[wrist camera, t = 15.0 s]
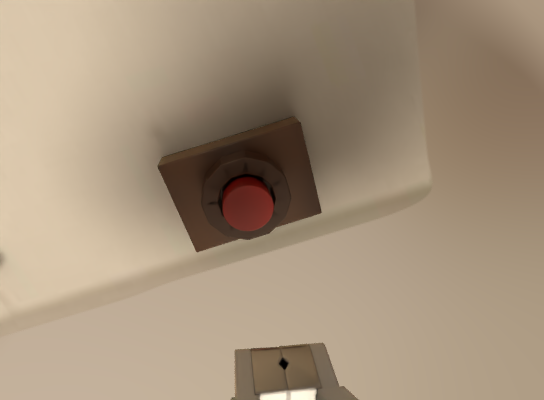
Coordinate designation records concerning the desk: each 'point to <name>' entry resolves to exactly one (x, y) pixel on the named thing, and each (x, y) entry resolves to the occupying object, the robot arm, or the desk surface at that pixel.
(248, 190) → the button
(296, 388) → the robot arm
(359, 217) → the desk surface
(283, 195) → the panel
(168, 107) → the desk surface
